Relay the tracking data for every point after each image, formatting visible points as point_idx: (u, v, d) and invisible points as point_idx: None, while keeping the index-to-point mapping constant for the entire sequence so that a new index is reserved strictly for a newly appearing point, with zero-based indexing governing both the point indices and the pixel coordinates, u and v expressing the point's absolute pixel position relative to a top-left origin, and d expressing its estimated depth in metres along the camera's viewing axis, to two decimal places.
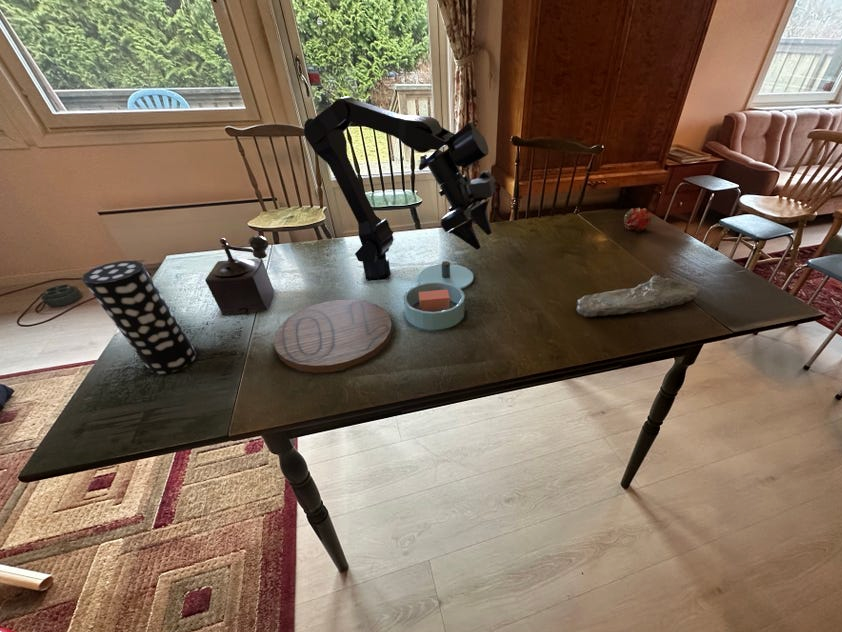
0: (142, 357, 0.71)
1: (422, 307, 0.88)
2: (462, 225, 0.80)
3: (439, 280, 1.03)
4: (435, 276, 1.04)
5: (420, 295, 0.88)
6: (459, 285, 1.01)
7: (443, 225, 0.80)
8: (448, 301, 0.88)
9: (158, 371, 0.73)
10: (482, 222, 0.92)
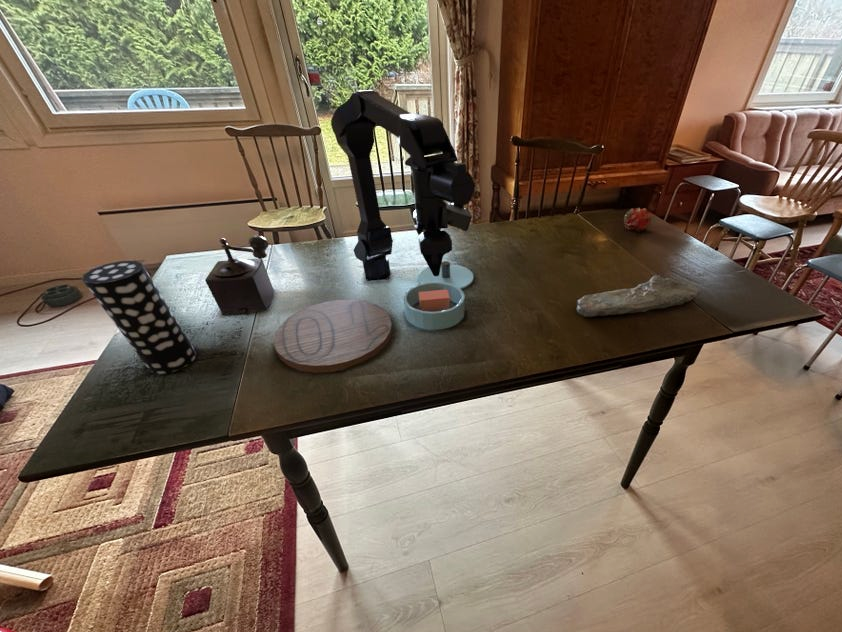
0: (142, 357, 0.71)
1: (422, 307, 0.88)
2: (441, 252, 0.74)
3: (439, 280, 1.03)
4: (435, 276, 1.04)
5: (420, 295, 0.88)
6: (459, 285, 1.01)
7: (424, 246, 0.71)
8: (448, 301, 0.88)
9: (158, 371, 0.73)
10: None
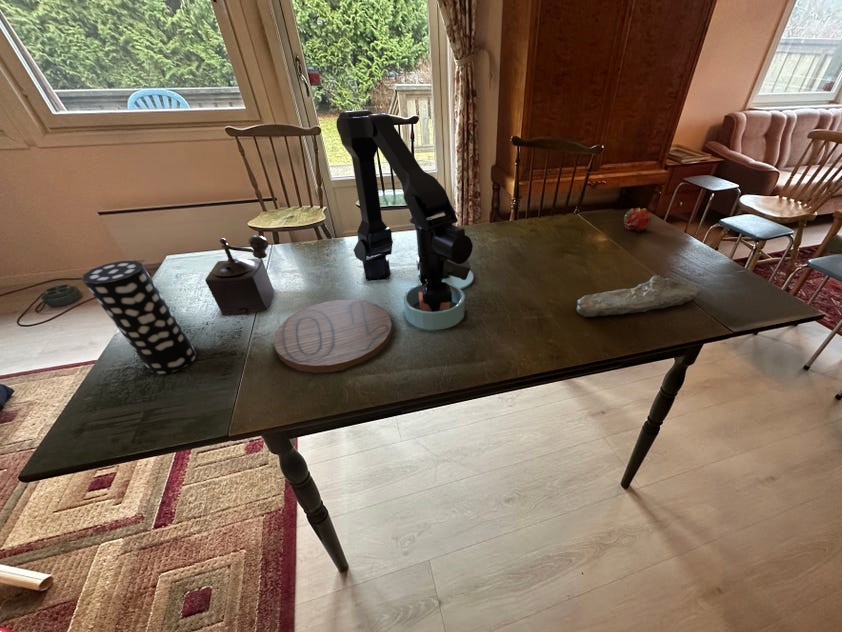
0: (142, 357, 0.71)
1: (422, 307, 0.88)
2: None
3: None
4: None
5: (420, 295, 0.88)
6: (459, 285, 1.01)
7: (426, 298, 0.78)
8: None
9: (158, 371, 0.73)
10: None
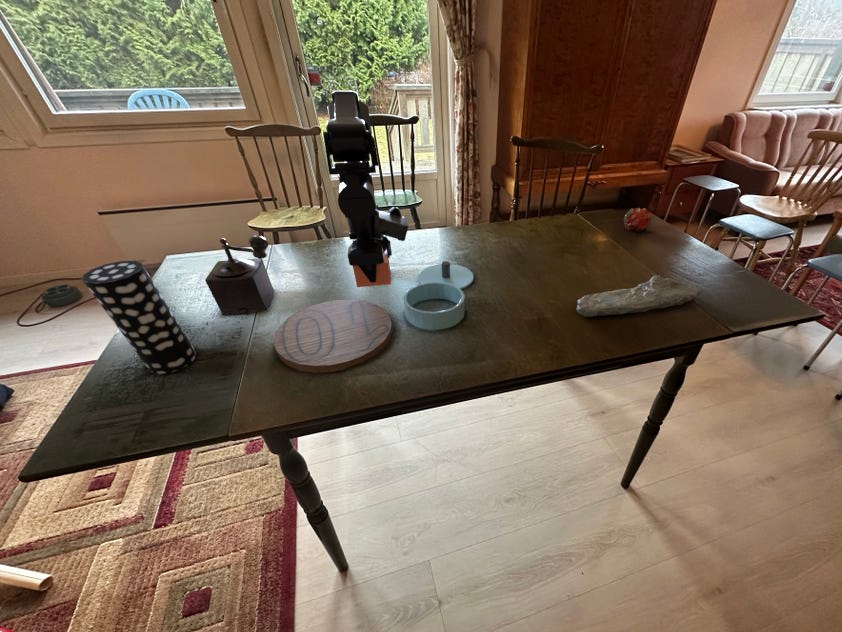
0: (142, 357, 0.71)
1: (356, 274, 0.77)
2: None
3: (439, 280, 1.03)
4: (435, 276, 1.04)
5: None
6: (459, 285, 1.01)
7: (352, 258, 0.67)
8: (386, 267, 0.77)
9: (158, 371, 0.73)
10: None
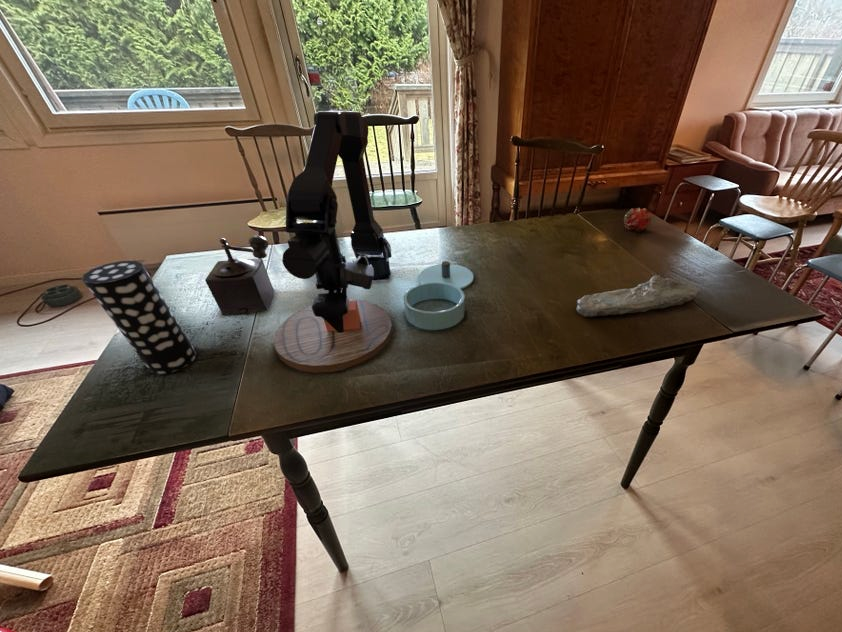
0: (142, 357, 0.71)
1: None
2: None
3: (439, 280, 1.03)
4: (435, 276, 1.04)
5: None
6: (459, 285, 1.01)
7: (316, 310, 0.70)
8: (354, 313, 0.81)
9: (158, 371, 0.73)
10: None
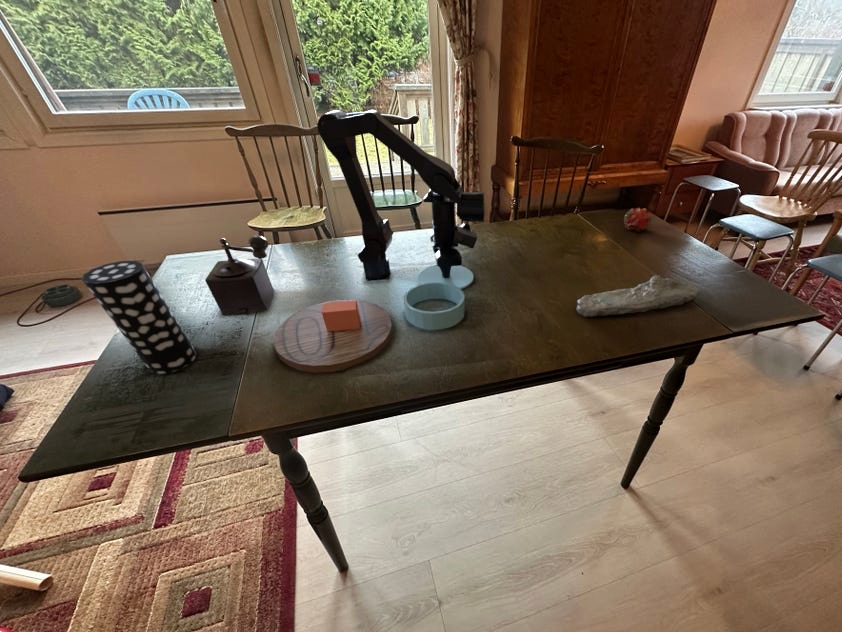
0: (142, 357, 0.71)
1: (325, 320, 0.80)
2: None
3: (439, 280, 1.03)
4: (435, 276, 1.04)
5: (323, 306, 0.81)
6: (459, 285, 1.01)
7: (440, 261, 0.92)
8: (354, 313, 0.81)
9: (158, 371, 0.73)
10: None
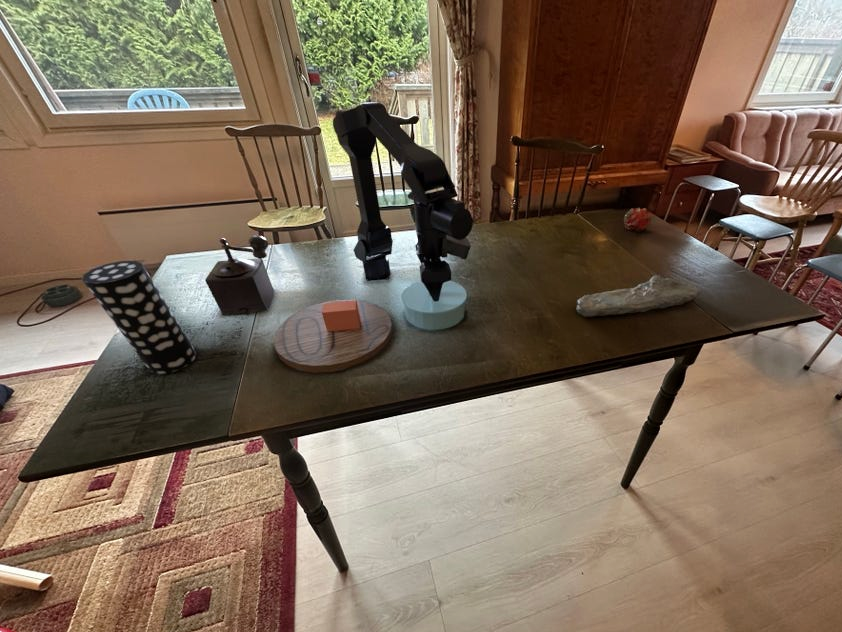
0: (142, 357, 0.71)
1: (325, 320, 0.80)
2: None
3: (426, 300, 0.86)
4: (421, 294, 0.88)
5: (323, 306, 0.81)
6: (449, 306, 0.85)
7: (425, 276, 0.75)
8: (354, 313, 0.81)
9: (158, 371, 0.73)
10: None
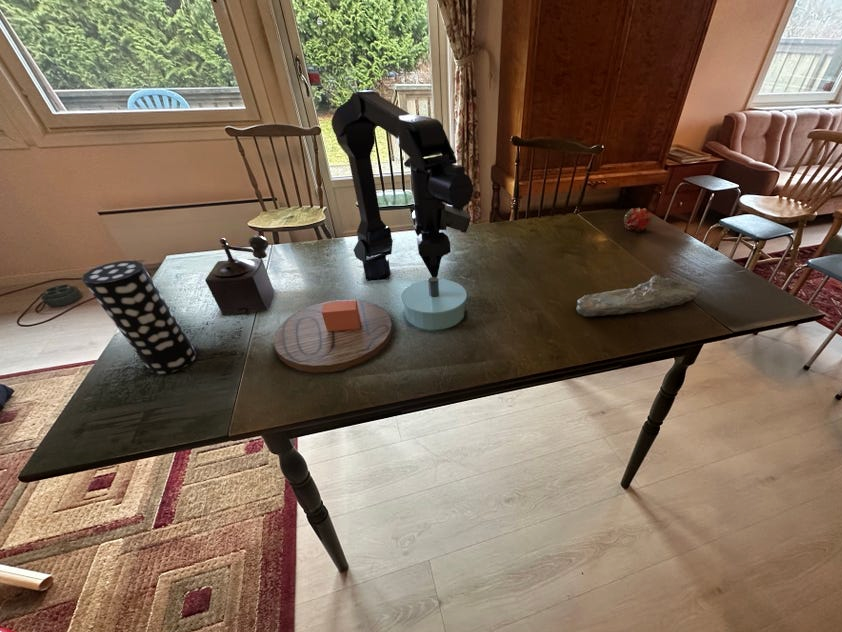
0: (142, 357, 0.71)
1: (325, 320, 0.80)
2: (439, 254, 0.74)
3: (426, 300, 0.86)
4: (421, 294, 0.88)
5: (323, 306, 0.81)
6: (449, 306, 0.85)
7: (422, 247, 0.71)
8: (354, 313, 0.81)
9: (158, 371, 0.73)
10: None
